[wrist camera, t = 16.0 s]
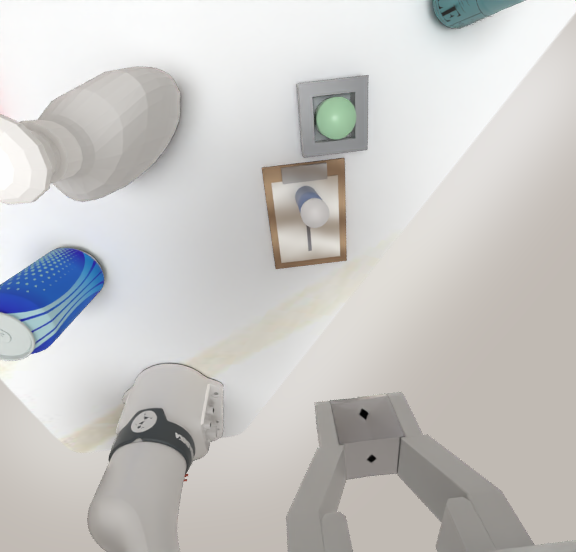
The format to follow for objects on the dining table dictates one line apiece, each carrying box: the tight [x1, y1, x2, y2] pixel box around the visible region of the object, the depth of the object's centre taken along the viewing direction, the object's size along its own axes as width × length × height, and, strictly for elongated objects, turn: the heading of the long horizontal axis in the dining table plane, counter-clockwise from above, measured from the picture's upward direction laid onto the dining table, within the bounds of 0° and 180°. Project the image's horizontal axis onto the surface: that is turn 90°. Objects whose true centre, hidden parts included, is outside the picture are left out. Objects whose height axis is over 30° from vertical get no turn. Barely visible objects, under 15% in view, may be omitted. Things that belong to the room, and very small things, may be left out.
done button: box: [314, 97, 356, 140], centre depth 38 cm, size 4×4×4 cm
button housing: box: [297, 75, 368, 157], centre depth 39 cm, size 8×8×2 cm
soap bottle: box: [0, 66, 181, 205], centre depth 27 cm, size 14×8×27 cm, turn 139°
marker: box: [295, 186, 329, 228], centre depth 39 cm, size 3×3×10 cm
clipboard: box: [262, 158, 347, 269], centre depth 45 cm, size 15×11×1 cm
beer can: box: [0, 248, 104, 361], centre depth 41 cm, size 8×8×16 cm
